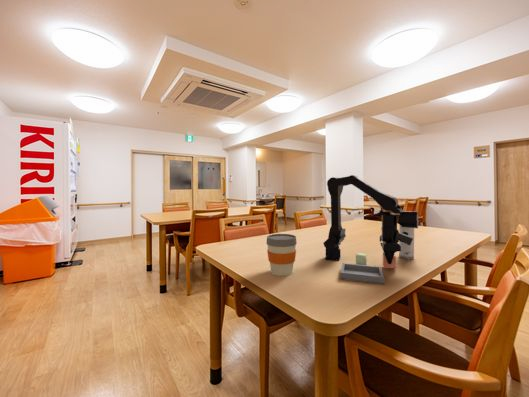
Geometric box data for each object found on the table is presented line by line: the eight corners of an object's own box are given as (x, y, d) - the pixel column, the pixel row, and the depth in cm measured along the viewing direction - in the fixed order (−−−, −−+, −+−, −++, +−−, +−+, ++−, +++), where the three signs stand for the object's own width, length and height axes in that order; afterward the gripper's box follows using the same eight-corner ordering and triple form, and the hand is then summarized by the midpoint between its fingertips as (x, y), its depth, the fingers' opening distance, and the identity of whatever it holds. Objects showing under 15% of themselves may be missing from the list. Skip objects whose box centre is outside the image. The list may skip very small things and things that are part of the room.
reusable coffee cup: (262, 269, 102) (261, 235, 102) (287, 265, 107) (287, 232, 107) (274, 279, 91) (274, 241, 90) (302, 274, 96) (302, 238, 95)
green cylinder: (355, 266, 104) (355, 255, 104) (355, 263, 108) (355, 253, 108) (366, 268, 103) (366, 256, 102) (366, 264, 107) (366, 253, 106)
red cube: (383, 266, 100) (383, 255, 100) (382, 263, 104) (382, 252, 104) (395, 268, 98) (395, 256, 98) (394, 264, 103) (394, 253, 102)
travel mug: (409, 260, 112) (410, 218, 111) (396, 256, 118) (396, 216, 117) (417, 258, 115) (418, 217, 114) (404, 254, 121) (404, 215, 120)
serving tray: (340, 279, 91) (340, 272, 90) (342, 268, 102) (342, 263, 102) (384, 284, 85) (384, 277, 85) (381, 273, 96) (381, 266, 96)
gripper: (416, 231, 89) (415, 271, 90) (407, 223, 106) (406, 257, 107) (383, 229, 93) (383, 268, 94) (379, 222, 110) (379, 255, 111)
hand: (389, 262), depth 101 cm, fingers closed on red cube, 4 cm apart
